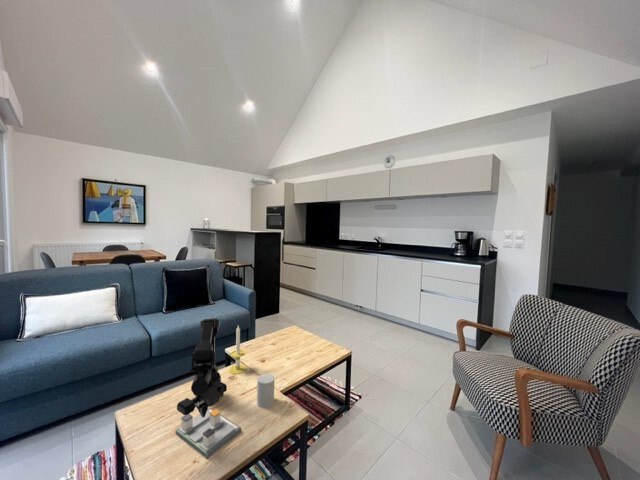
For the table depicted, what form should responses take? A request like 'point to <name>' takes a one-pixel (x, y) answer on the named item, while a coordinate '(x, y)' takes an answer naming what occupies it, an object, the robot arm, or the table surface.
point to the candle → (237, 356)
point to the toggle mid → (215, 417)
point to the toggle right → (208, 437)
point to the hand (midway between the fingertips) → (203, 416)
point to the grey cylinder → (265, 390)
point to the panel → (200, 424)
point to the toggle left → (186, 421)
